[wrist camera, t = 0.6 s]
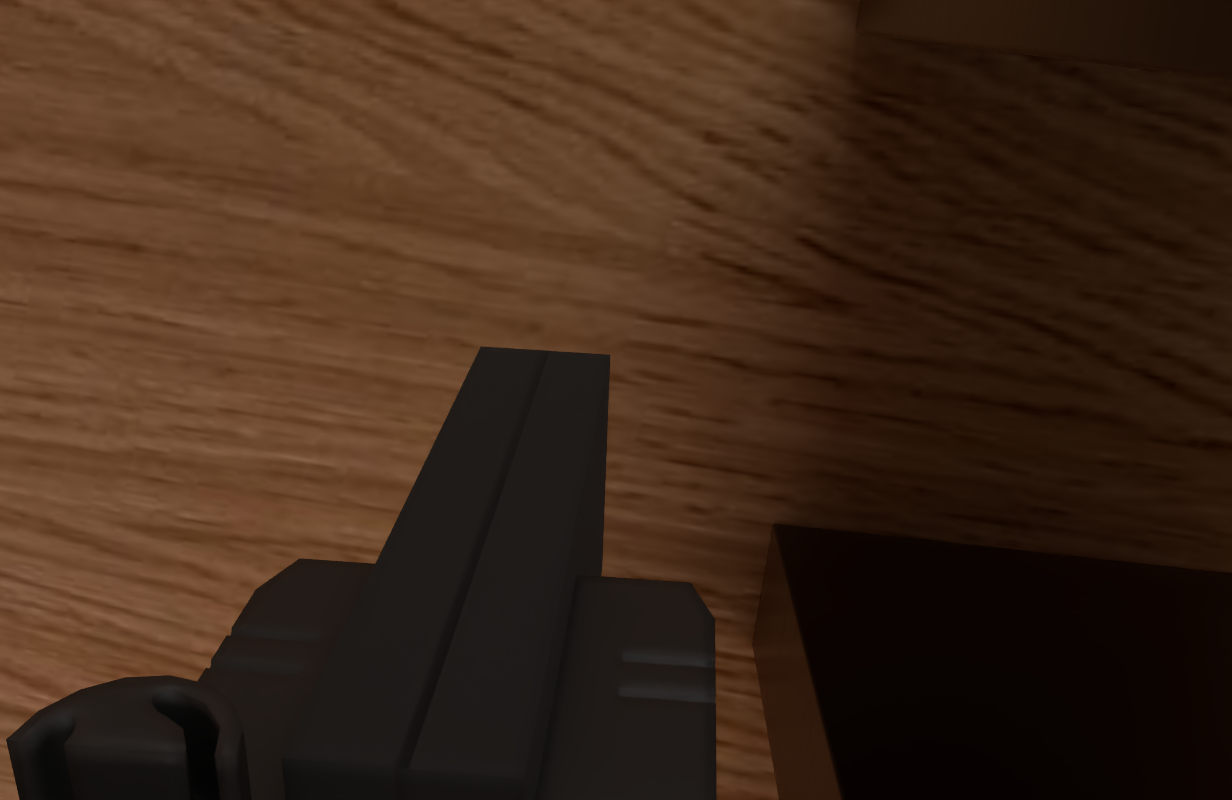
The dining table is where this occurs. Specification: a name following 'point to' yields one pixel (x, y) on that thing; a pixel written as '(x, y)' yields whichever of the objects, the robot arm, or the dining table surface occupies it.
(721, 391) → the dining table surface
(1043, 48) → the shelf stand
